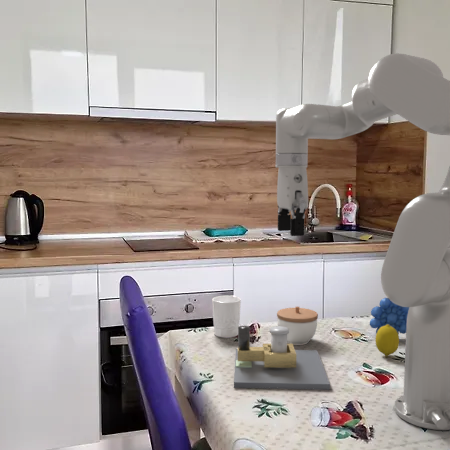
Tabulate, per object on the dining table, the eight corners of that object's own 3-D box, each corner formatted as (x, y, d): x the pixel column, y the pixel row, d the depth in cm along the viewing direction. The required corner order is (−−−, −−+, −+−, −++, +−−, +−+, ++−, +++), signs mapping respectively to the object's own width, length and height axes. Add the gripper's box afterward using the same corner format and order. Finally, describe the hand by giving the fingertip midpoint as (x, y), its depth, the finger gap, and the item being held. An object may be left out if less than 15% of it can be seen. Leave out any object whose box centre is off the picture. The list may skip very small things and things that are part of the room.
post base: (329, 389, 107) (330, 345, 106) (233, 387, 108) (234, 343, 107) (316, 354, 127) (317, 317, 126) (236, 353, 128) (236, 315, 127)
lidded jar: (283, 349, 131) (284, 313, 130) (271, 336, 141) (272, 302, 140) (323, 346, 133) (324, 311, 132) (308, 333, 143) (309, 300, 142)
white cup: (243, 330, 146) (243, 296, 145) (237, 339, 138) (237, 303, 137) (216, 328, 148) (216, 294, 147) (209, 337, 140) (209, 301, 139)
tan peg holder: (237, 367, 114) (238, 332, 113) (237, 355, 121) (237, 322, 120) (296, 367, 114) (296, 332, 113) (292, 356, 121) (292, 322, 120)
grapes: (413, 336, 141) (415, 293, 140) (414, 344, 135) (416, 299, 134) (369, 331, 145) (371, 290, 144) (368, 339, 139) (370, 295, 137)
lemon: (380, 350, 130) (381, 319, 129) (401, 355, 127) (403, 324, 126) (371, 356, 126) (372, 324, 125) (393, 362, 122) (394, 329, 122)
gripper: (320, 161, 114) (318, 237, 116) (294, 162, 131) (293, 228, 133) (288, 161, 113) (286, 238, 115) (266, 161, 130) (265, 229, 132)
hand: (290, 233), depth 124 cm, fingers open, 9 cm apart
